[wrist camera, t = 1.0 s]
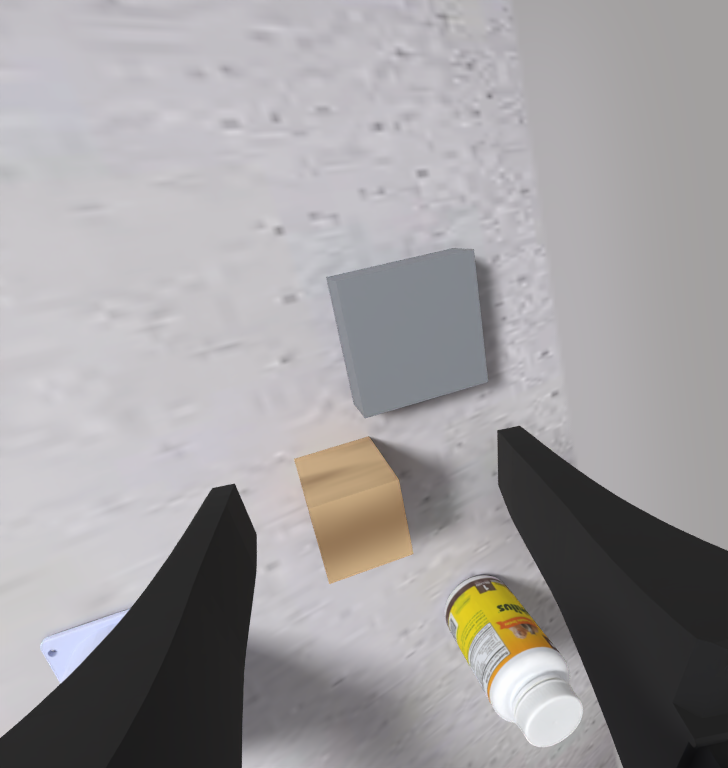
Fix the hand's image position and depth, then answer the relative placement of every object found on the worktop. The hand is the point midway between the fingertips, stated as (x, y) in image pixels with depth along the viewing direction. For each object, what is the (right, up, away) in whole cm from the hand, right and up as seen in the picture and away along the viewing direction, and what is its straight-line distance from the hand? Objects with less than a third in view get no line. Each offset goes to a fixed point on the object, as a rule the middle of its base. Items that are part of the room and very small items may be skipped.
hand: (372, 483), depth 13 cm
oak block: (-2, -4, +18) cm, 19 cm away
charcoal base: (+2, +6, +17) cm, 18 cm away
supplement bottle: (+8, -14, +25) cm, 30 cm away
